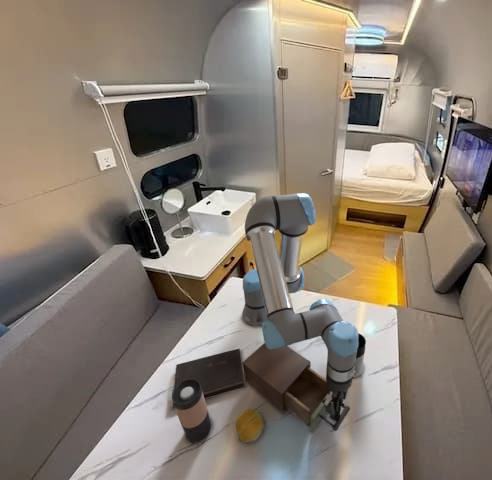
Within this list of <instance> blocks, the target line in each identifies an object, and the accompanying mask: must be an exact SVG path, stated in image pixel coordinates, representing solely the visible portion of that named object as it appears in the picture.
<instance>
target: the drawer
mask: <svg viewBox="0 0 492 480" xmlns="http://www.w3.org/2000/svg"><path fill="white" fill-rule="evenodd" d="M328 390H329V386H328V384H327V382H326V377H324V376H323V375H321V374H320V373H318V372H317V371H315V370H314V369H312V368H311V367H310V368H309V367H307V368H306V369H305V370H304V371H303V373H302V374H301V375H300V376H299V377H298V378H297V379H296V381H295V382H294V383H293V384H292V385H291V386H290V387H289V389H288V390H287V391H286V392H285V393H284V406H285V407H286V409H287V410H289V411H290V412H291V413H292V414H294V416H296V417H297V418H299V419H300V421H302V422H303V423H305V425H307V426H310V433H312V434H313V435H314V434H315V432H316V431H317V430H318V428H319V427H320V426H321V424H322V422H323V421H324V422H325V423H326V424H327V425H329V427H331V428H332V429H333V431H335V432H337V431H338V429H339V428H340V426H341V424H342V423H343V421H344V420H345V418H346V416H347V415H348V413H349V411H350V410H351V407H350V406H349V405H346V404H345V405H344V407H343V410H342V411H341V412H340V416H339V418H338V419H337V421H336V422H335V421H334V424H333V423H332V422H331V421H330V420H328V419H327V418H326V416H327V415H328V413H327V412H326V409H325V405H324V404H323V403H322V401H323V399H324V398H326V397H327V398H328V396H329V395H328Z"/></svg>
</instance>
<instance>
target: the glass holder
mask: <svg viewBox="0 0 492 480" xmlns="http://www.w3.org/2000/svg"><path fill="white" fill-rule="evenodd" d="M358 334H359V337H358V342H359V344H358V349H357V354H356V360H355V366H354V370H355V373H354V374H353V378H357V377H359V376H361V375H362V373H363V372H364V359H365V354H366V345H367V344H366V343H367V340H366V338H365V336H364V335H363V334H361V333H359V332H358Z"/></svg>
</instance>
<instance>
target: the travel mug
mask: <svg viewBox="0 0 492 480" xmlns="http://www.w3.org/2000/svg"><path fill="white" fill-rule="evenodd" d="M171 401H172V405H173V404H174V407H175V408H174V409H175V412H176V415H177V418H178V420H179V423H180V425H181V428H182V430H183V432H184V434H185V436H186V438H187V440H188V441H189V442H191V443H199V442H202V441H203V440H204V439H206V438H207V437H208V436H209V434H210V432H211V429H212V423H211V418H210V417H211V416H210V413H209V409H208V405H207V402H206V399H205V398H204V395H203V392H202V389H201V385H200V383H199V382H198V381H197V380H194V379H188V380H185V381H183V382H181V384H180V385H179V386H178V387H177V388H176V389H174V388H173V390H172V393H171Z"/></svg>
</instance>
